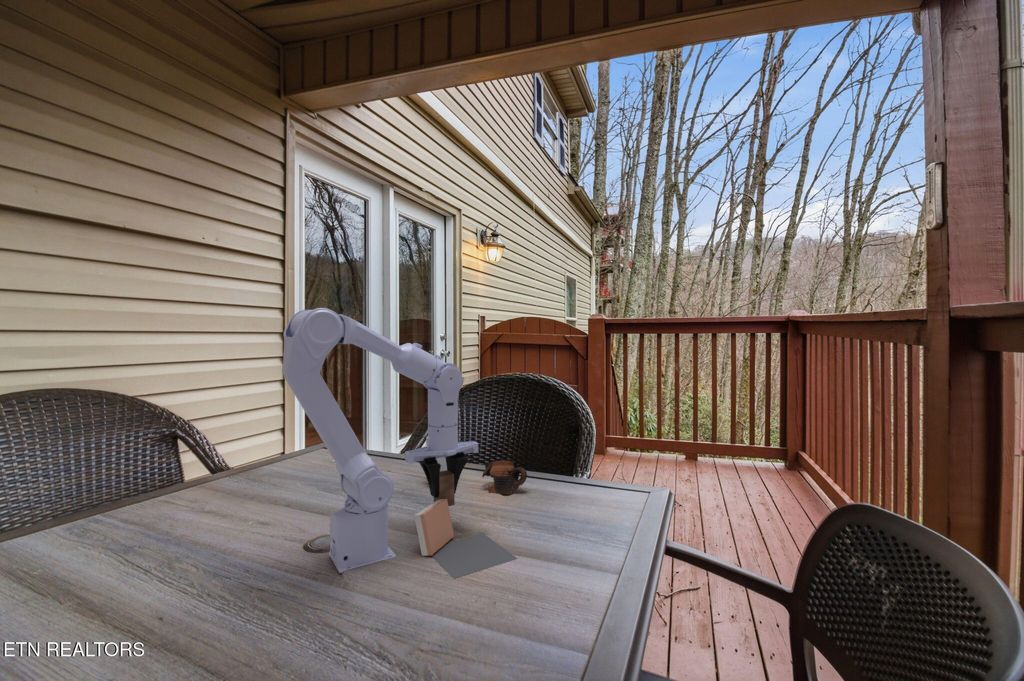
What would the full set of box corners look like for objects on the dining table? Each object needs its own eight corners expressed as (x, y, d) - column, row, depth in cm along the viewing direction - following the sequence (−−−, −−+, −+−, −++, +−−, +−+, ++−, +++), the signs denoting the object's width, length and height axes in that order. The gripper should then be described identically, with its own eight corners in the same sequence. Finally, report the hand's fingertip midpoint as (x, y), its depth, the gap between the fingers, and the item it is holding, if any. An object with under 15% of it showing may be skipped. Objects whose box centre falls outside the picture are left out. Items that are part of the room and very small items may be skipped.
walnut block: (440, 508, 89) (439, 476, 89) (433, 503, 91) (433, 472, 91) (454, 504, 90) (454, 473, 90) (447, 500, 93) (447, 470, 93)
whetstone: (431, 555, 80) (423, 514, 81) (421, 555, 81) (414, 515, 82) (454, 536, 88) (447, 498, 88) (445, 536, 89) (437, 499, 89)
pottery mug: (476, 497, 113) (475, 462, 117) (493, 502, 120) (491, 470, 124) (522, 489, 109) (519, 454, 113) (537, 496, 117) (534, 462, 121)
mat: (454, 582, 74) (454, 578, 74) (424, 551, 84) (424, 548, 84) (517, 561, 80) (517, 558, 80) (482, 535, 90) (482, 532, 90)
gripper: (415, 432, 83) (415, 508, 84) (485, 423, 91) (485, 492, 92) (401, 425, 89) (401, 496, 90) (468, 417, 97) (468, 482, 98)
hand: (443, 494), depth 91 cm, fingers open, 3 cm apart
